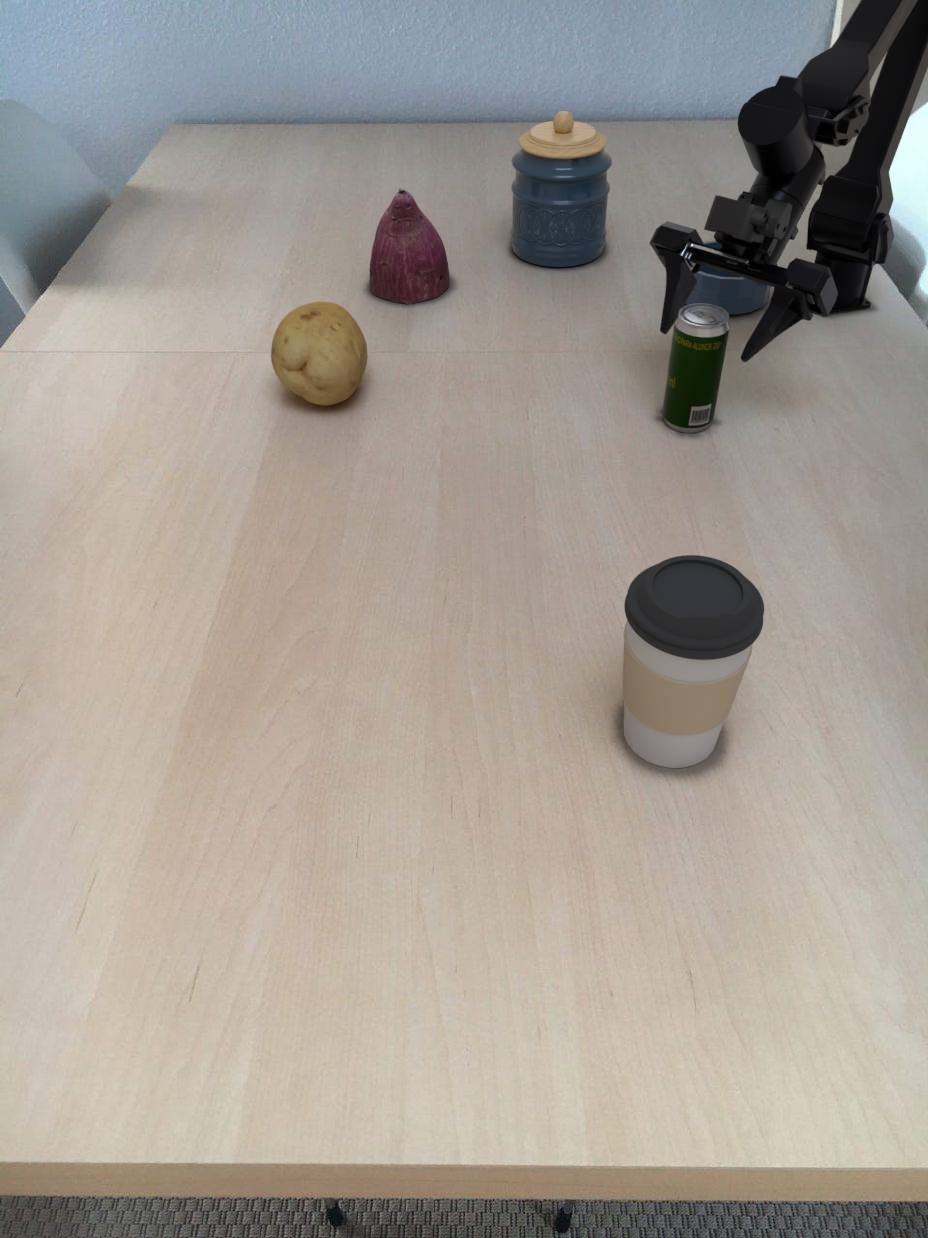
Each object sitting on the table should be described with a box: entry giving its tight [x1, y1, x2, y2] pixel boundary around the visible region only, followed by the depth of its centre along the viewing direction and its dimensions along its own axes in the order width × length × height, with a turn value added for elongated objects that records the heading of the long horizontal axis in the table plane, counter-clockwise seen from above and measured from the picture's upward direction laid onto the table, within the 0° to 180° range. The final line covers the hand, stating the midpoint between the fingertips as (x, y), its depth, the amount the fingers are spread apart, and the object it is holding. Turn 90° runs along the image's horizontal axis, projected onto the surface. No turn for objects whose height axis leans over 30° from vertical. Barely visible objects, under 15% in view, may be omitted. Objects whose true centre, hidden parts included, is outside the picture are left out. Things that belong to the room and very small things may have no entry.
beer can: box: [661, 303, 731, 434], centre depth 101 cm, size 5×5×12 cm
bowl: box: [685, 239, 772, 315], centre depth 123 cm, size 11×11×5 cm
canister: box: [510, 110, 613, 268], centre depth 130 cm, size 13×13×18 cm
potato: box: [270, 301, 369, 406], centre depth 107 cm, size 10×12×10 cm
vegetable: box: [368, 187, 451, 305], centre depth 124 cm, size 10×10×15 cm
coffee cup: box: [622, 554, 765, 769], centre depth 69 cm, size 9×9×15 cm
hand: (701, 346), depth 99 cm, fingers open, 9 cm apart
